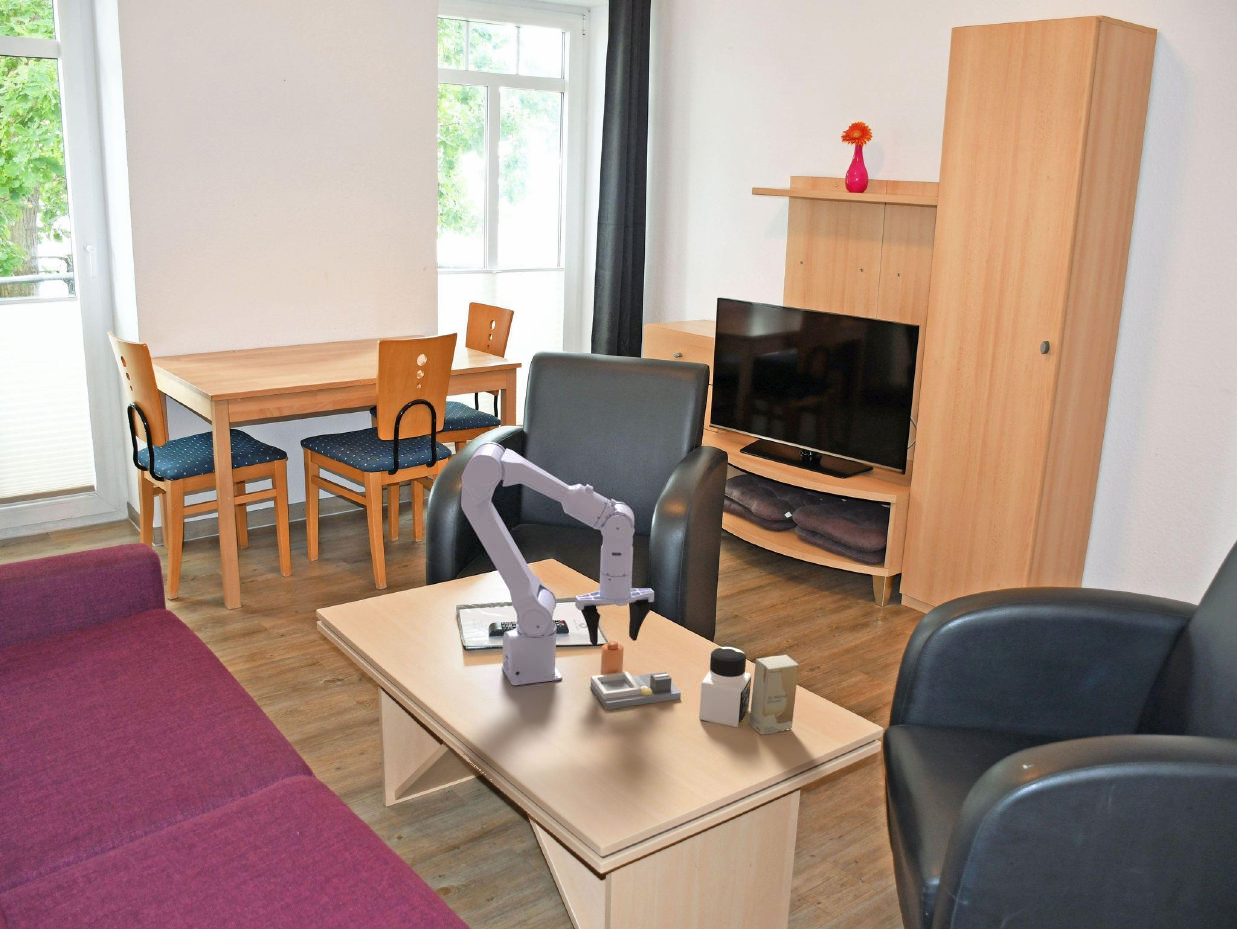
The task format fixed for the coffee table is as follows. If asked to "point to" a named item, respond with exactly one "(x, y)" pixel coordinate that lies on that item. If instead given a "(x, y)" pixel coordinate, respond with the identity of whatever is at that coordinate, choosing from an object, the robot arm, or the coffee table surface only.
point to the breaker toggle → (660, 682)
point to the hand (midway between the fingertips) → (613, 640)
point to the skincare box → (773, 694)
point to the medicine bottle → (725, 688)
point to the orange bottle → (612, 658)
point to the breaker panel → (628, 690)
